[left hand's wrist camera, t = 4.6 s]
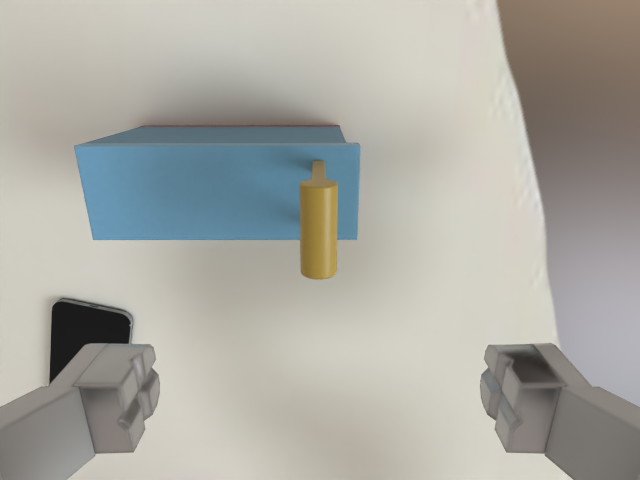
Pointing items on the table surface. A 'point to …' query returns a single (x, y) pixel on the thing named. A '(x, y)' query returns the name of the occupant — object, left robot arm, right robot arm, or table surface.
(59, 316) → the smartphone
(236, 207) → the lid
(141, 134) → the chest
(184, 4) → the table surface
